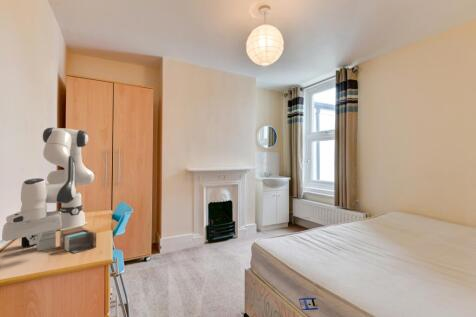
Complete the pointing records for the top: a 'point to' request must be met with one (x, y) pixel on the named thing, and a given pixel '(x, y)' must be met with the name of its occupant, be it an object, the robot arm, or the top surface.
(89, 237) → the book stack with bookend
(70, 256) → the top surface
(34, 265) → the top surface
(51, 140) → the robot arm
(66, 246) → the boxed book
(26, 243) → the beverage can
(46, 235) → the supplement box
